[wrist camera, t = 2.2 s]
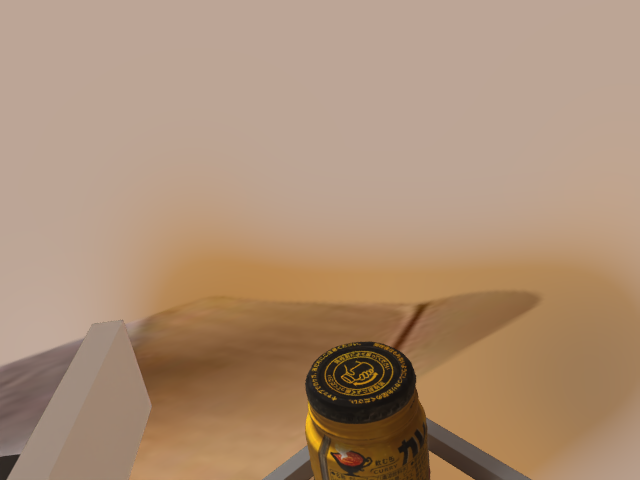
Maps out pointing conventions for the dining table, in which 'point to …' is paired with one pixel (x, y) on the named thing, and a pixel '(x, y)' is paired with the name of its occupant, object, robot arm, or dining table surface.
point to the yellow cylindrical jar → (365, 416)
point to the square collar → (479, 465)
